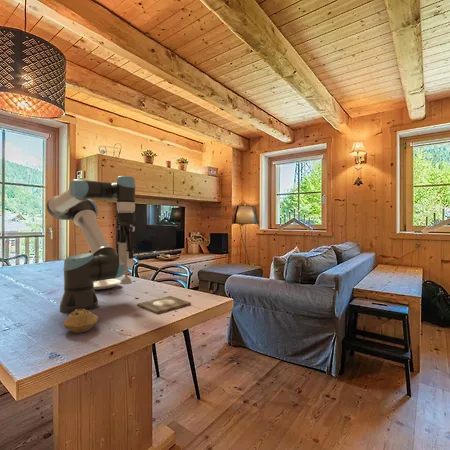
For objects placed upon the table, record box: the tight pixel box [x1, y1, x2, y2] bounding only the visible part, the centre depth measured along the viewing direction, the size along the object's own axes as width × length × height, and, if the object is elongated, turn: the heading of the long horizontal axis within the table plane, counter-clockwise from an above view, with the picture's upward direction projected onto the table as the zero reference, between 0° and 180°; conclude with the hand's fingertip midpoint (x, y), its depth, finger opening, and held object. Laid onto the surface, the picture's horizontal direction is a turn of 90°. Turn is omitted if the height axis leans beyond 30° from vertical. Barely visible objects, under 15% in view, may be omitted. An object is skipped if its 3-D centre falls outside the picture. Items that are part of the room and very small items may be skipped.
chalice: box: [116, 241, 135, 285], centre depth 126 cm, size 7×7×18 cm
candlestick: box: [94, 278, 121, 291], centre depth 162 cm, size 21×25×28 cm
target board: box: [136, 295, 192, 315], centre depth 131 cm, size 18×16×1 cm
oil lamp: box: [63, 309, 99, 334], centre depth 103 cm, size 11×15×8 cm
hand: (126, 265), depth 126 cm, fingers closed on chalice, 6 cm apart
